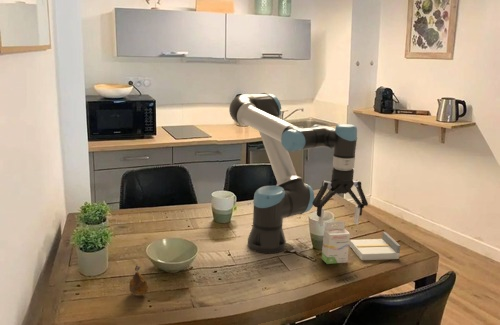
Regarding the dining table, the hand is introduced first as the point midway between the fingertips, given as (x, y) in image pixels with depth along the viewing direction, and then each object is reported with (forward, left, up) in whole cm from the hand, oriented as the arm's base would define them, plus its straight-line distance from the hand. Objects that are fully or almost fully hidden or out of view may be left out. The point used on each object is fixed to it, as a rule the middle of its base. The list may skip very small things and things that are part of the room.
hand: (338, 224), depth 172 cm
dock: (+18, +6, -15) cm, 24 cm away
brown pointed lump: (-71, -17, -15) cm, 75 cm away
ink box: (0, 0, -15) cm, 15 cm away
